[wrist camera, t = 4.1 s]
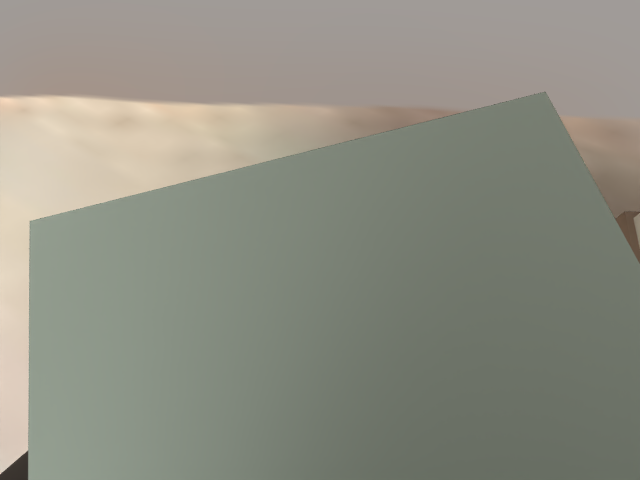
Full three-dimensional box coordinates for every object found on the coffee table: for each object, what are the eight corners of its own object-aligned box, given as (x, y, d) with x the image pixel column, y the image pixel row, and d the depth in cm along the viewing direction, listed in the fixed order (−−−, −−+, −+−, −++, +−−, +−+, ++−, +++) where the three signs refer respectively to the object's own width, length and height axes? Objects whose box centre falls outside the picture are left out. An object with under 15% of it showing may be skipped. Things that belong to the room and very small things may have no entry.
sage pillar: (451, 489, 14) (938, 809, 2) (307, 527, 14) (25, 1068, 2) (406, 344, 15) (545, 90, 4) (277, 377, 15) (29, 220, 4)
